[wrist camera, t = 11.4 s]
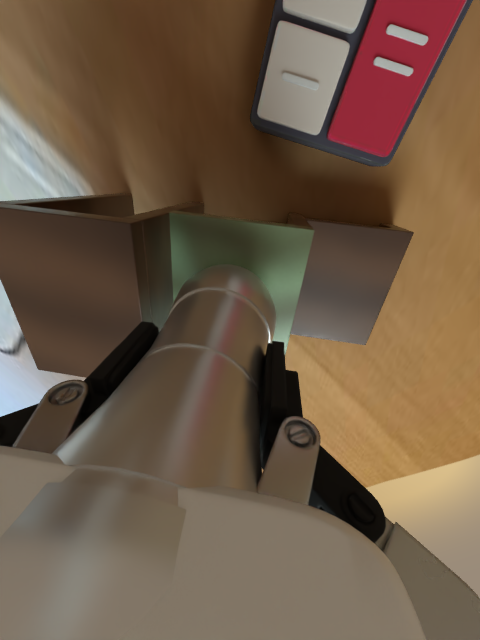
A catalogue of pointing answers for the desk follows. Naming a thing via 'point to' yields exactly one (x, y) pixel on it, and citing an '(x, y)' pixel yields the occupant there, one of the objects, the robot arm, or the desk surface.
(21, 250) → the shelf
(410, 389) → the desk surface
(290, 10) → the calculator
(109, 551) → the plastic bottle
